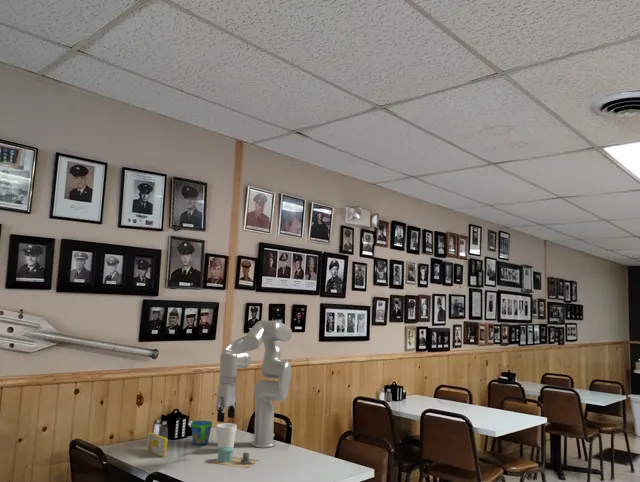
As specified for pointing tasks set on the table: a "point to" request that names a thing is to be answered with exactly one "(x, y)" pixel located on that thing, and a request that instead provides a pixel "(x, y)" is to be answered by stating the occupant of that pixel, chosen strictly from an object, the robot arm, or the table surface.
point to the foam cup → (226, 434)
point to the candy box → (157, 444)
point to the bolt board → (238, 461)
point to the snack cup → (201, 432)
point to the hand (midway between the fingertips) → (225, 419)
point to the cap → (225, 454)
